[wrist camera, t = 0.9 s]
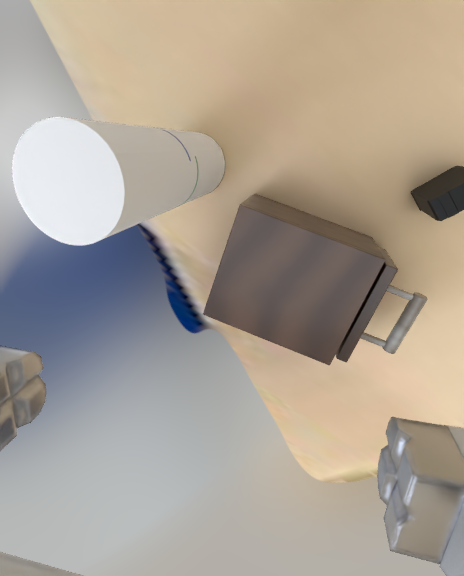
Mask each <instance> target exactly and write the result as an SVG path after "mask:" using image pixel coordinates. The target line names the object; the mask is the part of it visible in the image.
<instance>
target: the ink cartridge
mask: <svg viewBox="0 0 464 576" xmlns="http://www.w3.org/2000/svg"><path fill="white" fill-rule="evenodd" d="M411 194H412V196H413V198H414V200H415V202H416V204H417V205H418V207H419V209H420V211H421V210H422V211H423V212H425V213H426V214H428V215H429V216H431V217H432V218H434V219H436V220H437V221H442V220H444V219H446V218H449V217H451V216H453V215H455V214H457V213H459V212H461V211H462V210H464V167H462V166H455V167H453V168H451V169H449V170H447V171H446V172H444V173H442V174H440V175H438V176H437V177H435V178H433V179H431V180H430V181H428V182H426V183H424V184H423V185H421V186H419V187H417V188H416V189H414V190H412V191H411Z"/></svg>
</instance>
